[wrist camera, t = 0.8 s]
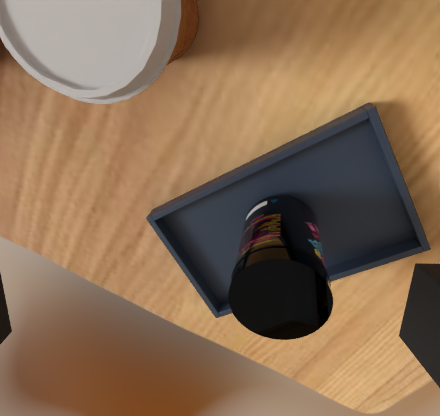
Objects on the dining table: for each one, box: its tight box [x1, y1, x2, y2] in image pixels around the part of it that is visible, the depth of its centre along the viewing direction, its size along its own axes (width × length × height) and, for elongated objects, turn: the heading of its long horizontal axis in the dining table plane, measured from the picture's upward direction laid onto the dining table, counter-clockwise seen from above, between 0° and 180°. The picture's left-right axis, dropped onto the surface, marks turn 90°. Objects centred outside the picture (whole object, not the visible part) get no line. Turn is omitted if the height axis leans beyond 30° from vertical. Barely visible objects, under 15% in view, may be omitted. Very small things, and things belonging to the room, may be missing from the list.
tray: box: [146, 103, 431, 318], centre depth 30 cm, size 21×13×2 cm, turn 120°
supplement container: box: [228, 195, 333, 340], centre depth 26 cm, size 7×7×10 cm
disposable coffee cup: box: [0, 0, 199, 104], centre depth 20 cm, size 10×10×12 cm
